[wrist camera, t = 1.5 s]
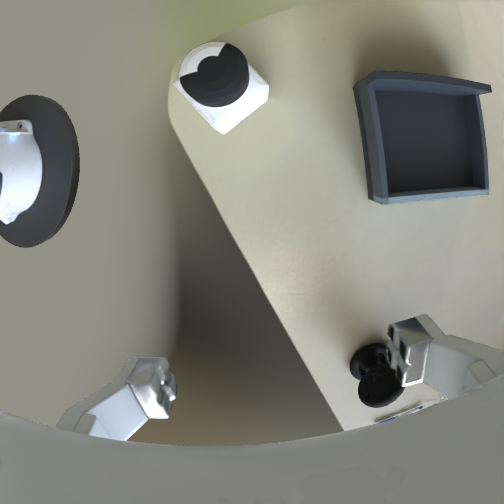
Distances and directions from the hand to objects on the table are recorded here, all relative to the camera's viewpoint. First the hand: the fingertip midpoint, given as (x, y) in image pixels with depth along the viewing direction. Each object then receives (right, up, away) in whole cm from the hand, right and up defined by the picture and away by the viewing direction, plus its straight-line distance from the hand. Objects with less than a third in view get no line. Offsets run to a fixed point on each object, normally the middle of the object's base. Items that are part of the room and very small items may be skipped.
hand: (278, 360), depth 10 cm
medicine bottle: (-4, +23, +23) cm, 32 cm away
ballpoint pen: (+29, -29, +38) cm, 56 cm away
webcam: (+18, -14, +33) cm, 41 cm away
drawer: (+22, +19, +23) cm, 36 cm away
